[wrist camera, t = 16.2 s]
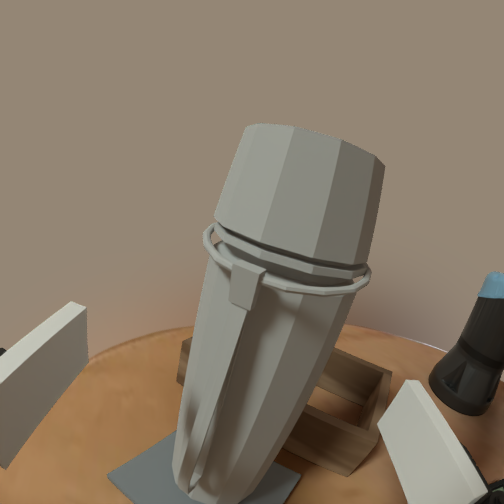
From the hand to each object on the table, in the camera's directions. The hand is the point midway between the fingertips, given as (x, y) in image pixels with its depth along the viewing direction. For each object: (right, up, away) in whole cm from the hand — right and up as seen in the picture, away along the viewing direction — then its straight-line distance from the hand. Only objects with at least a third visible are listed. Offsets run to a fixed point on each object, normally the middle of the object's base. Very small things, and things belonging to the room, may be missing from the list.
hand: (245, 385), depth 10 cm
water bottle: (-3, -14, +8) cm, 16 cm away
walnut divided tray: (+4, -13, +22) cm, 26 cm away
